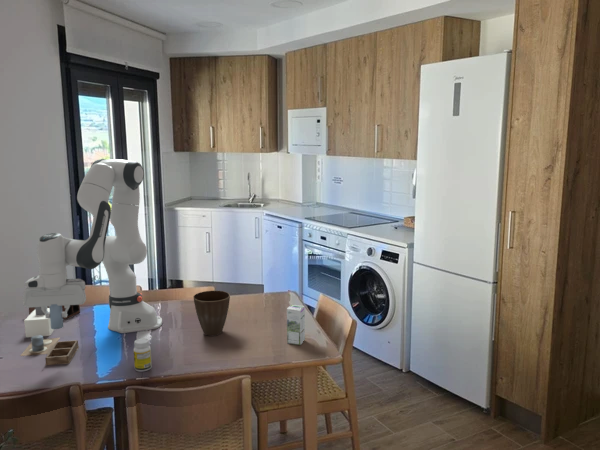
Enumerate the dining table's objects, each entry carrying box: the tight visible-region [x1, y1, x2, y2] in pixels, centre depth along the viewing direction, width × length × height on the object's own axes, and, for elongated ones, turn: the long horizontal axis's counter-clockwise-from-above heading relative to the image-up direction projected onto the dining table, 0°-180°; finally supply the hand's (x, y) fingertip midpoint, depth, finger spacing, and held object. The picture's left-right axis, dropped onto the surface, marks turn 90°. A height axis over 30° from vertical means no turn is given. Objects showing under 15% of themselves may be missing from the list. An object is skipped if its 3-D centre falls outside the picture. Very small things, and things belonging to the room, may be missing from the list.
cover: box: [23, 307, 56, 338], centre depth 218 cm, size 9×15×12 cm, turn 11°
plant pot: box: [192, 290, 231, 337], centre depth 216 cm, size 15×15×16 cm
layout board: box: [19, 335, 61, 357], centre depth 201 cm, size 10×16×6 cm, turn 11°
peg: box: [49, 304, 64, 330], centre depth 186 cm, size 4×4×9 cm
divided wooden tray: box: [44, 339, 80, 366], centre depth 192 cm, size 8×15×4 cm, turn 11°
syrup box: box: [286, 304, 306, 346], centre depth 205 cm, size 6×6×14 cm
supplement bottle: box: [133, 338, 152, 372], centre depth 183 cm, size 6×6×10 cm
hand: (56, 317), depth 186 cm, fingers closed on peg, 4 cm apart
